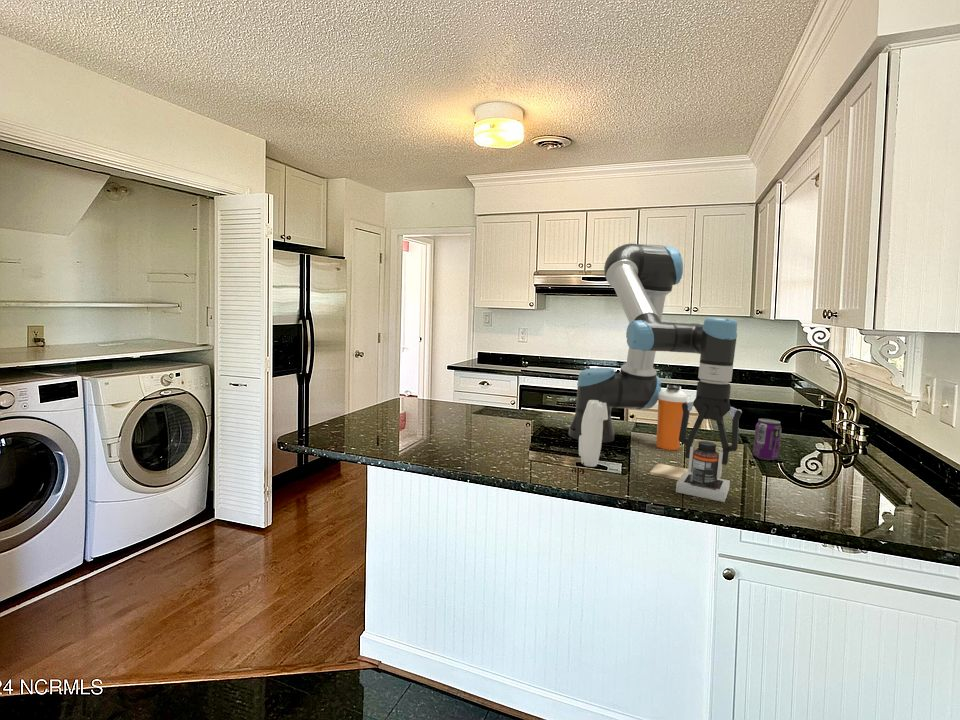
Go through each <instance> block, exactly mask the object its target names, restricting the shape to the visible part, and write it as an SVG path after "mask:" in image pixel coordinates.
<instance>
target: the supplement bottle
mask: <svg viewBox="0 0 960 720" xmlns="http://www.w3.org/2000/svg"><path fill="white" fill-rule="evenodd" d="M716 449H717V444H716V443H715V442H713V441H708V440H701V441H698V446H697V449H695V451H694V454H693V464H692V474H691V484H695V485H700V486H705V487H710V488H715V489H716V485H717V470H718V460H719V453H718V452H717V450H716Z"/></svg>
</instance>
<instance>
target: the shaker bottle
mask: <svg viewBox="0 0 960 720" xmlns="http://www.w3.org/2000/svg"><path fill="white" fill-rule="evenodd" d="M684 402H687V403H688V395H687V393H686V392H685V391H682V386H681V385H672V384H667V386H666V388H664V389H661V391H660V392H659V393H658V401H657V403H658V404H657V405H658V407H657V423H656V442H655V443H656V447H657V448H659V449H662V450H668V451H677V450H679V449H680V446H681V445H680V444H681V442H680V441H679V434H680V429H681V423H682V417H683V409H682V404H683V403H684Z"/></svg>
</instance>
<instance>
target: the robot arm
mask: <svg viewBox="0 0 960 720" xmlns="http://www.w3.org/2000/svg"><path fill="white" fill-rule="evenodd" d="M683 271H684V262H683V258H682V254H681V252H680V251H679V250H678V249H677V248H676V247H673V246H668V245H667V246H666V245H661V244H660V245H657V244H643V243H642V244H640V243H625V244H622V245H620V246H618V247H616V248H615V249H614V250H613V251H612V252H610V253H609V254H608V257H607V258H606V260H605V262H604V268H603V273H604V277H605V280H606V281H607V284H609V285H610V287H612V288H613V289H614V291H615V294H616V296H617V298H618V299H619V302H620V304H621V307H622V309H623V312H624V314H625V316H626V318H627V320H628V321H627V322H628V326H627V327H626V333H625V335H626V344H627V346H628V352H627V357H626V362H625V363H624V364H622V365H621V366H620V371H619V372H616V371H615V369H614V368H611V367H593V368H586V369H583V370H581V371H580V373H579V374H578V379H577V384H576V386H577V390H576V392H577V393H576V402H575V414H574V416H573V418H572V421H571V423H570V426H569V428H568V436H569V437H570V438H572V439H574V440H577V441H579V436H580V435H582V434H581V424H582V418H583V415H584V411H585V409H586V406H587V403H588V401H589V400H598V401H599V402H600V401H601V402H602V403H606V404H607V411H608V420H604V421H603V435H602V443H603V444H604V443H611V442H614V441H615V430H614V425H613V419H612V408H614V409H615V408H616V409H635V410H642V409H643V410H648V409H649V410H650V409H652V408H653V407H654V406H656V404H657V403H658V393H659V392H660V391H661V390H662V386H661V385H662V381H661V379H660V376H658V375H657V370H656V368H654V364H655V363H654V362H655V357H656V352H669V353H685V354H686V353H687V354H688V353H689V354H700V358H699V367H698V375H697V378H698V379H699V381H697V383H696V384H697V385H696V395H695V399H694V400H693V401H691V402H690V401H689V402H688V401H687V402H684V403H683V404H682V409H683V417H682V423H681V429H680V434H679V441H680V443H683V444H684V445H685V452H684V457H685V459H688V467H687V469H688V473H691V472H692V464H693V454H694V451H695V450H696V445H695V444H693V442H694V440H695V439H696V436H697V434H698V432H699V429H700V427H701V425H702V423H703V421H704V420H711V421H714V422H715V423H716V425H717V429H718V434H719V440H720V443H721V447H722V449H720V450H719V453H718V454H719V460H718V470H717V478H719V479H721V477H722V472H723V471H722V470H723V466H726V465H727V464H728V461H729V454H730V452H736V451H737V450H738V446H739V427H740V426H739V424H740V422H739V421H740V417H741V415H742V413H743V411H742V409H740V408H738V409H737V408H735V407H734V406H732V405H731V403H730V398H731V389H732V386H731V384H730V383H731V382H732V379H733V370H734V362H735V352H736V344H737V338H738V322H737V320H736V319H733V318H725V317H724V318H723V317H706V318H705V319H704V321H703V324H701V323H694V322H693V323H685V322H667V321H662V318H663V313H664V309H665V308H664V307H665V303H666V296H668V295H669V294H670V293H671V292H672V290H673V286H676V285H678V284H679V283H681V279H682V277H683ZM693 407H694V408H695V410H696V413H698V416H697V417H696V420H695V423H694V425H693V427H692V429H691V431H690V434H689V435H688V438H687V437H686V436H687V430H688V426H689V419H690V412H691V411H692V410H693ZM729 412H730V417H731V418H732V424H731V425H732V426H731V444H730V443H729V441H728V436H727V432H726V427H725V421H724V416H726V415H727V414H728V413H729ZM729 444H730V445H729Z"/></svg>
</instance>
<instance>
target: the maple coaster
mask: <svg viewBox="0 0 960 720" xmlns="http://www.w3.org/2000/svg"><path fill="white" fill-rule="evenodd" d="M684 472H688V468H684V467H680V466H674V465H668V464H663V463H657V464H656V465H655V466H653V468H652V469H651V470H650V472H649V475H651V476H656V477H661V478H665V479H670V480H676V481H678V480H679V478H680V477H681V476H682V474H683V473H684ZM691 473H692V472H691Z"/></svg>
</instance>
